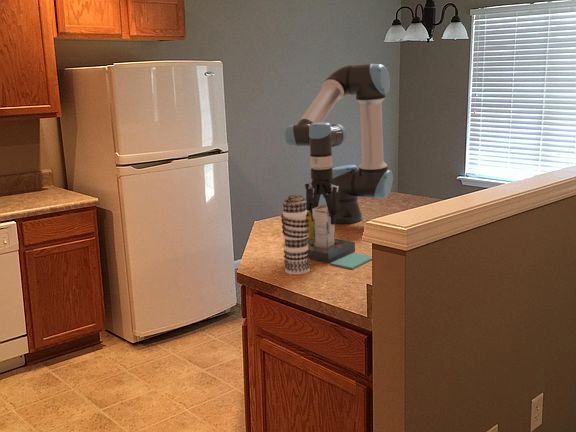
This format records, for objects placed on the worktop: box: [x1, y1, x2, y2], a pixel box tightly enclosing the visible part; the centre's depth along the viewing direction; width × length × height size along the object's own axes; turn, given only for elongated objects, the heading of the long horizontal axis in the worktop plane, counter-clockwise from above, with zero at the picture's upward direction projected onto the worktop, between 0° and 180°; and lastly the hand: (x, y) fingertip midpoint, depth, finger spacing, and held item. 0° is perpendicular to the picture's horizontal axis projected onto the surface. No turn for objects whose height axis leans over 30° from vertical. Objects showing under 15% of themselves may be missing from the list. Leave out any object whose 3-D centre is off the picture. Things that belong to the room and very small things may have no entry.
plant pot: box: [306, 211, 313, 240], centre depth 246 cm, size 10×10×10 cm
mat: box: [329, 252, 372, 270], centre depth 216 cm, size 14×9×1 cm, turn 140°
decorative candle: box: [280, 194, 311, 275], centre depth 208 cm, size 9×9×25 cm
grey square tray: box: [307, 238, 356, 264], centre depth 226 cm, size 16×16×4 cm
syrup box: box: [312, 204, 336, 249], centre depth 225 cm, size 6×6×14 cm
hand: (323, 231), depth 225 cm, fingers closed on syrup box, 6 cm apart
